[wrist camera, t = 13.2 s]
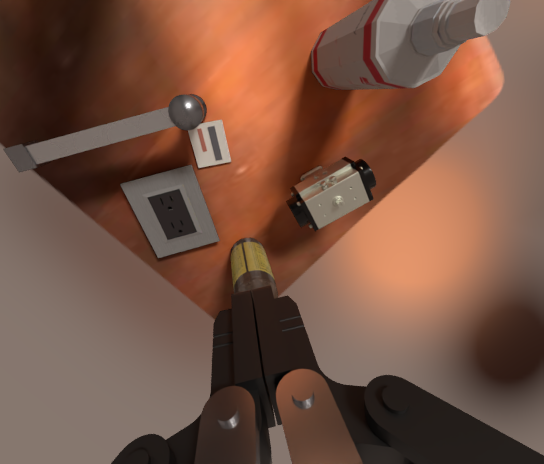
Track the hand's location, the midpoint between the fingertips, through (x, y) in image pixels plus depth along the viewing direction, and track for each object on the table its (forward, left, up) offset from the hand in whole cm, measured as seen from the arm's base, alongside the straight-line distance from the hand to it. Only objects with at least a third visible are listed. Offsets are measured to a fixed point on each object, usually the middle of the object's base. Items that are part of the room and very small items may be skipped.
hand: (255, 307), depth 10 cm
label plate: (-1, -3, -35) cm, 35 cm away
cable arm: (-5, -13, -29) cm, 32 cm away
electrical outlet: (+8, -11, -36) cm, 38 cm away
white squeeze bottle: (-9, +17, -35) cm, 40 cm away
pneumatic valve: (+7, +12, -35) cm, 38 cm away
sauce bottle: (+18, -1, -35) cm, 40 cm away
